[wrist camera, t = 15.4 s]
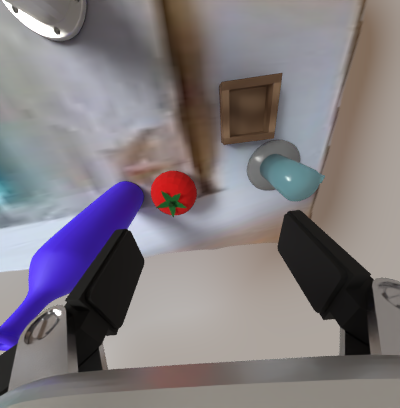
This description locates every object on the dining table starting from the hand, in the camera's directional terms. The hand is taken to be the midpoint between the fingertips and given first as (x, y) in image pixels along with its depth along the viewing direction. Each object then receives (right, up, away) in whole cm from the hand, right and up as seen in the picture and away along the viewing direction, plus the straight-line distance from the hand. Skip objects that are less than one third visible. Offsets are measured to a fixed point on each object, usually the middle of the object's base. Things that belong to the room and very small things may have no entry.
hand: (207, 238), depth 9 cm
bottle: (-19, +5, +30) cm, 36 cm away
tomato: (-7, +7, +29) cm, 30 cm away
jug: (+19, +11, +26) cm, 34 cm away
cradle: (+9, +21, +21) cm, 31 cm away
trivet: (+17, +11, +27) cm, 34 cm away
